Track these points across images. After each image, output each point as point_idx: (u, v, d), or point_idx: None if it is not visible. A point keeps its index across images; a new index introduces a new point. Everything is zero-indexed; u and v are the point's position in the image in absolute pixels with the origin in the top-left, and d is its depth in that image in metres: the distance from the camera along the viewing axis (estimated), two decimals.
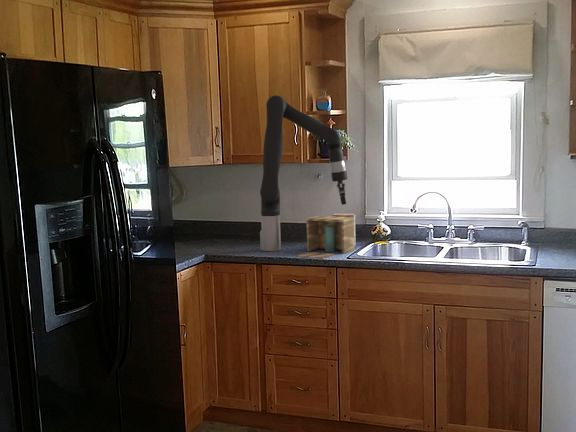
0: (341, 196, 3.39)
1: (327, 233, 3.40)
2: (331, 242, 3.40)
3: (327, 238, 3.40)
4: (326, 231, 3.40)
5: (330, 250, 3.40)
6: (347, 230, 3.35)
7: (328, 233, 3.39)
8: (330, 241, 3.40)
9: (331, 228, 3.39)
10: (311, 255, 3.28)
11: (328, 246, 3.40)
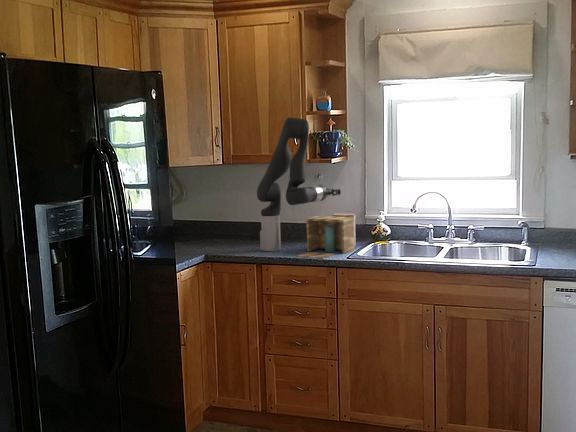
0: None
1: (327, 233, 3.40)
2: (331, 242, 3.40)
3: (327, 238, 3.40)
4: (326, 231, 3.40)
5: (330, 250, 3.40)
6: (347, 230, 3.35)
7: (328, 233, 3.39)
8: (330, 241, 3.40)
9: (331, 228, 3.39)
10: (311, 255, 3.28)
11: (328, 246, 3.40)
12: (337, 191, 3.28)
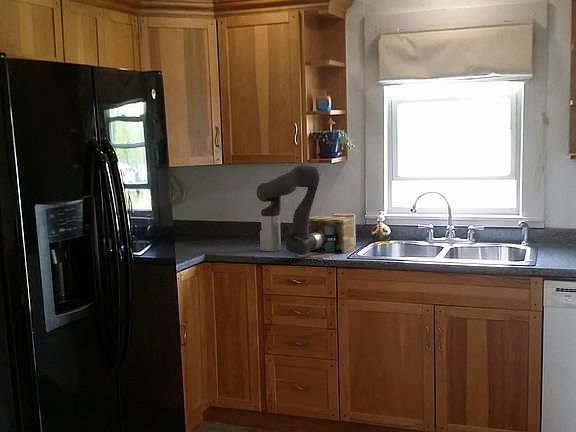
0: None
1: (327, 233, 3.40)
2: (331, 242, 3.40)
3: None
4: (326, 231, 3.40)
5: (330, 250, 3.40)
6: (347, 230, 3.35)
7: (328, 233, 3.39)
8: None
9: (331, 228, 3.39)
10: (311, 255, 3.28)
11: (328, 246, 3.40)
12: (336, 237, 3.34)
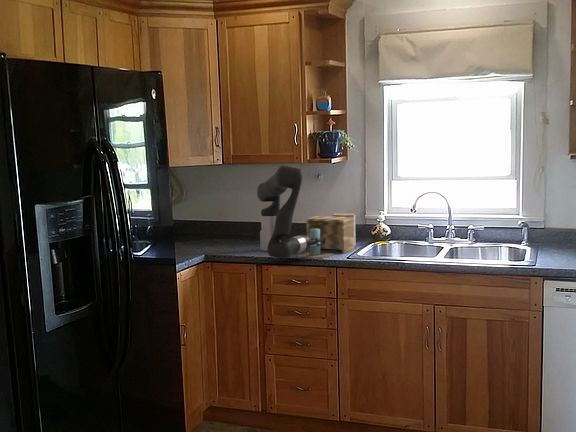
0: None
1: (312, 236, 3.27)
2: (316, 246, 3.27)
3: None
4: (311, 234, 3.27)
5: (315, 254, 3.27)
6: (347, 230, 3.35)
7: (313, 237, 3.26)
8: (315, 245, 3.27)
9: (316, 231, 3.26)
10: (311, 255, 3.28)
11: (313, 249, 3.27)
12: (321, 241, 3.20)
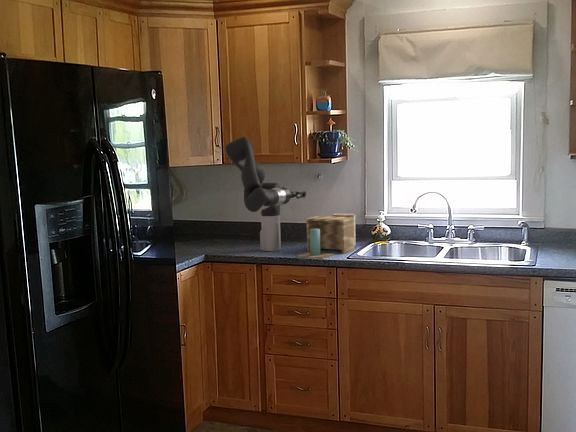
0: None
1: (312, 236, 3.27)
2: (316, 246, 3.27)
3: (312, 241, 3.27)
4: (311, 234, 3.27)
5: (315, 254, 3.27)
6: (347, 230, 3.35)
7: (313, 237, 3.26)
8: (315, 245, 3.27)
9: (316, 231, 3.26)
10: (311, 255, 3.28)
11: (313, 249, 3.27)
12: (301, 194, 3.07)
